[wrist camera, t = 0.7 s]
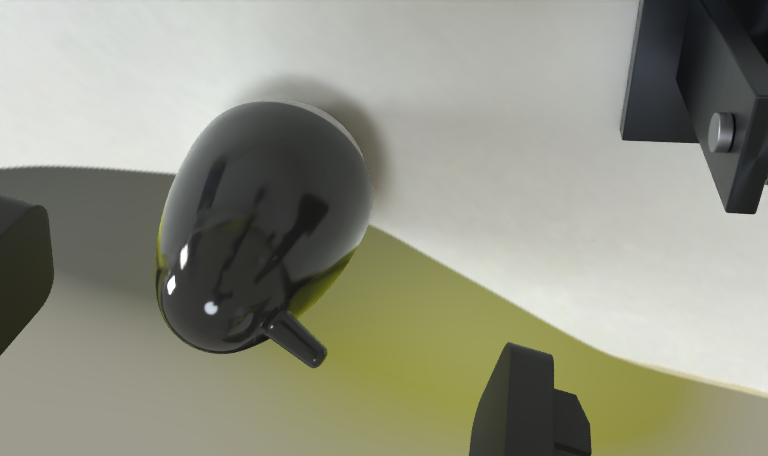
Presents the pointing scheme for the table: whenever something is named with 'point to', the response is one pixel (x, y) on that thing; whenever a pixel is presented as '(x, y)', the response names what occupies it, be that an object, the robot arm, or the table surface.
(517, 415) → the robot arm
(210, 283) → the black egg-shaped dome
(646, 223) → the table surface
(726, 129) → the switch bracket
